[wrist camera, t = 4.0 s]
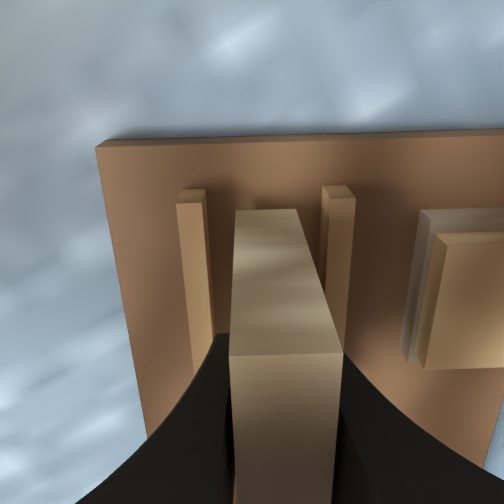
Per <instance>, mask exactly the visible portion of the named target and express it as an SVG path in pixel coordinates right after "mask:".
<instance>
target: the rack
mask: <svg viewBox="0 0 504 504" xmlns="http://www.w3.org/2000/svg"><path fill="white" fill-rule="evenodd" d="M95 151H96V156H97V162H98V167H99V173H100V179H101V184H102V190H103V195H104V201H105V206H106V212H107V217H108V223H109V228H110V234H111V239H112V245H113V250H114V256H115V262H116V267H117V273H118V278H119V284H120V289H121V295H122V300H123V306H124V311H125V317H126V322H127V328H128V333H129V339H130V345H131V350H132V356H133V361H134V367H135V372H136V378H137V383H138V389H139V394H140V400H141V405H142V411H143V417H144V422H145V428H146V433H147V439H148V438H149V437H150V436H151V434H152V433H153V432H154V431H155V430H156V429H157V428H158V427H159V425H160V424H161V423H162V422H163V421H164V419H165V418H166V417H167V416H168V414H169V413H170V412H171V410H172V409H173V408H174V406H175V405H176V404H177V402H178V401H179V399H180V398H181V396H182V395H183V393H184V392H185V390H186V389H187V388H188V386H189V385H190V383H191V381H192V380H193V378H194V376H195V375H196V373H197V371H198V369H199V368H200V366H201V364H202V362H203V360H204V359H205V357H206V355H207V353H208V350H209V348H210V346H211V344H212V341H213V338H214V336H215V335H216V334H217V333H230V321H231V299H232V278H233V256H234V235H235V213H236V210H267V209H296V211H297V214H298V217H299V220H300V223H301V226H302V229H303V232H304V235H305V238H306V241H307V244H308V247H309V250H310V253H311V256H312V259H313V262H314V265H315V268H316V271H317V274H318V277H319V280H320V283H321V286H322V289H323V292H324V295H325V298H326V301H327V305H328V308H329V311H330V314H331V317H332V320H333V323H334V326H335V329H336V332H337V335H338V338H339V341H340V344H341V347H342V349H343V351H344V352H345V353H346V354H347V356H348V357H349V358H350V359H351V361H352V362H353V363H354V364H355V365H356V366H357V367H358V369H359V370H360V371H361V372H362V373H363V374H364V375H365V376H366V378H367V379H368V380H369V381H370V382H371V383H372V384H373V385H374V386H375V387H376V388H377V389H378V390H379V391H380V392H381V393H382V394H383V395H384V396H385V397H386V398H387V399H388V400H389V401H390V402H391V403H392V404H393V405H394V406H396V407H397V408H398V409H399V410H400V411H401V412H402V413H404V414H405V415H406V416H407V417H408V418H410V419H411V420H412V421H413V422H414V423H416V424H417V425H418V426H420V427H421V428H422V429H423V430H425V431H426V432H428V433H429V434H430V435H432V436H433V437H435V438H436V439H437V440H439V441H440V442H442V443H443V444H444V445H446V446H447V447H449V448H450V449H452V450H453V451H455V452H456V453H458V454H459V455H461V456H463V457H464V458H466V459H467V460H469V461H471V462H472V463H474V464H476V465H477V466H479V467H480V468H482V467H483V464H484V461H485V457H486V454H487V451H488V447H489V444H490V441H491V437H492V434H493V431H494V427H495V424H496V420H497V417H498V414H499V410H500V407H501V404H502V400H503V397H504V367H499V368H469V369H439V370H424V369H423V367H422V365H421V363H407V361H406V359H405V357H404V355H403V353H402V351H401V349H400V347H399V345H400V338H401V332H402V325H403V318H404V312H405V305H406V299H407V292H408V285H409V279H410V272H411V265H412V259H413V252H414V246H415V239H416V232H417V226H418V219H419V212H420V210H423V209H456V208H489V207H504V129H475V130H441V131H407V132H373V133H339V134H304V135H270V136H236V137H202V138H167V139H133V140H105V141H104V142H102V143H101V144H99V145H98V146H96V147H95ZM233 504H238V503H237V486H236V475H235V485H234V498H233Z"/></svg>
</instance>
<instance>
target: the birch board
mask: <svg viewBox="0 0 504 504" xmlns="http://www.w3.org/2000/svg"><path fill="white" fill-rule="evenodd" d="M342 364H343V350H342V347H341V344H340V341H339V338H338V335H337V332H336V329H335V326H334V323H333V320H332V317H331V314H330V311H329V308H328V305H327V301H326V298H325V295H324V292H323V289H322V286H321V283H320V280H319V277H318V274H317V271H316V268H315V265H314V262H313V259H312V256H311V253H310V250H309V247H308V244H307V241H306V238H305V235H304V232H303V229H302V226H301V223H300V220H299V217H298V214H297V211H296V209H267V210H236V213H235V235H234V256H233V278H232V299H231V321H230V342H229V368H230V385H231V401H232V418H233V435H234V452H235V469H236V486H237V503H238V504H331V497H332V485H333V473H334V461H335V449H336V437H337V425H338V413H339V401H340V389H341V377H342Z"/></svg>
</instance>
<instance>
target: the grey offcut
mask: <svg viewBox="0 0 504 504" xmlns="http://www.w3.org/2000/svg"><path fill="white" fill-rule="evenodd" d="M500 231H504V207H489V208H456V209H423V210H420V212H419V219H418V226H417V232H416V239H415V246H414V252H413V259H412V265H411V272H410V279H409V285H408V292H407V299H406V305H405V312H404V318H403V325H402V332H401V338H400V345H399V347H400V349H401V351H402V353H403V355H404V357H405V359H406V361H407V363H420V361H419V360H418V358H417V356H416V354H415V353H414V352H415V346H416V340H417V335H418V329H419V323H420V317H421V311H422V305H423V299H424V294H425V288H426V282H427V276H428V270H429V264H430V259H431V253H432V247H433V241H434V235H435V233H467V232H500Z"/></svg>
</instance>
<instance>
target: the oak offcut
mask: <svg viewBox="0 0 504 504" xmlns="http://www.w3.org/2000/svg"><path fill="white" fill-rule="evenodd" d="M414 353H415V354H416V356H417V358H418V360H419V361H420V363H421V365H422V367H423V369H424V370H439V369H469V368H499V367H504V231H500V232H467V233H435V235H434V241H433V247H432V253H431V259H430V264H429V270H428V276H427V282H426V288H425V294H424V299H423V305H422V311H421V317H420V323H419V329H418V335H417V340H416V346H415V352H414Z"/></svg>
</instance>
